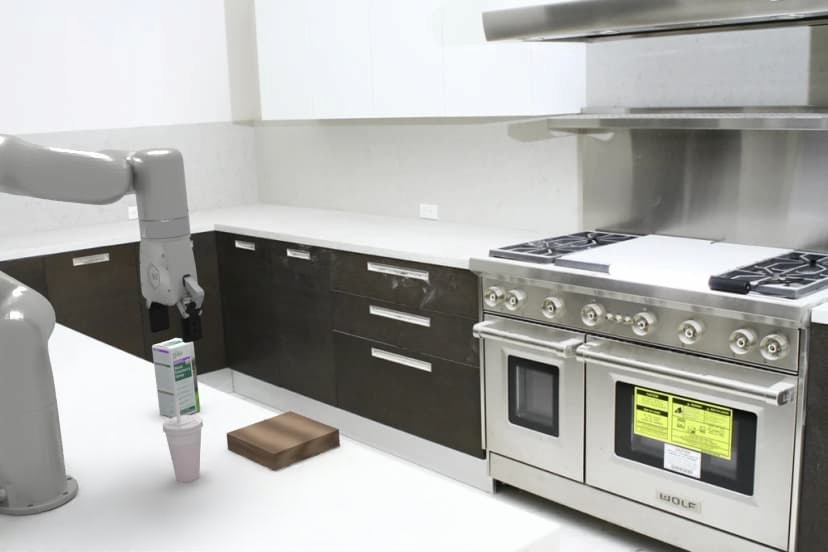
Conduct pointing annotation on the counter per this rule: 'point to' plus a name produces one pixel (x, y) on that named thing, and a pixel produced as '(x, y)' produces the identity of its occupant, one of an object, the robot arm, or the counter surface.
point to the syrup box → (176, 377)
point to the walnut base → (283, 440)
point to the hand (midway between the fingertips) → (176, 335)
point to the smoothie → (184, 444)
